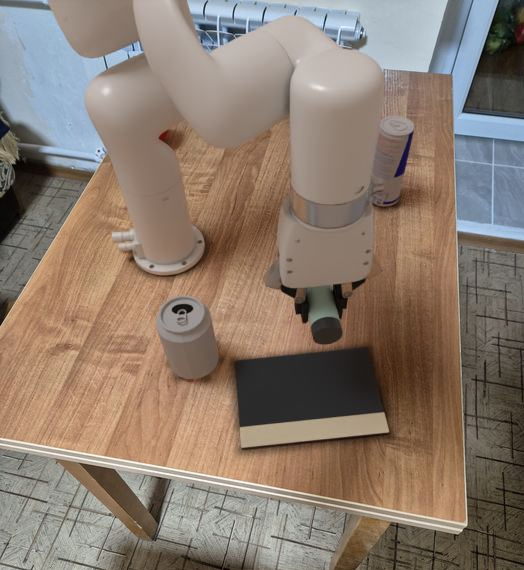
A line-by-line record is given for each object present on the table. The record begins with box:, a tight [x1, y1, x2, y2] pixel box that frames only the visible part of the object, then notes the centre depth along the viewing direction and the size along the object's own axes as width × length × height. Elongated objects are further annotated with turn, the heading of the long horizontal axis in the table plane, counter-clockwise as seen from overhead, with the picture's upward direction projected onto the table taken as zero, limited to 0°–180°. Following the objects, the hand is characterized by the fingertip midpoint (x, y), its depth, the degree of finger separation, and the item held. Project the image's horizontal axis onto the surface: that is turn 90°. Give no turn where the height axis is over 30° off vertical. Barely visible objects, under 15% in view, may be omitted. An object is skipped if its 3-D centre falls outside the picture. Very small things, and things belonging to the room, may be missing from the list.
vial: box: [307, 285, 344, 346], centre depth 63 cm, size 10×4×4 cm, turn 6°
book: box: [234, 346, 390, 450], centre depth 73 cm, size 20×14×1 cm
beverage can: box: [371, 115, 415, 208], centre depth 89 cm, size 6×6×15 cm
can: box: [155, 294, 220, 380], centre depth 72 cm, size 8×8×12 cm
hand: (319, 311), depth 64 cm, fingers closed on vial, 3 cm apart
